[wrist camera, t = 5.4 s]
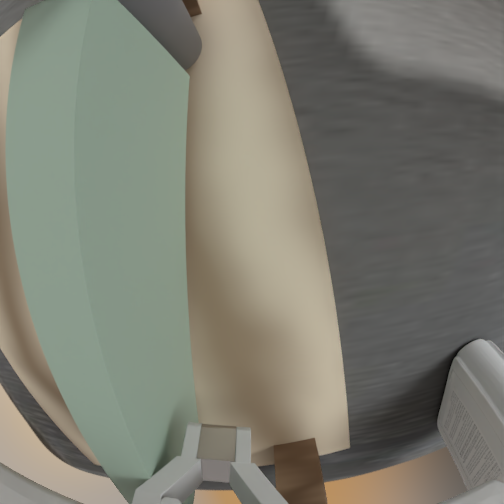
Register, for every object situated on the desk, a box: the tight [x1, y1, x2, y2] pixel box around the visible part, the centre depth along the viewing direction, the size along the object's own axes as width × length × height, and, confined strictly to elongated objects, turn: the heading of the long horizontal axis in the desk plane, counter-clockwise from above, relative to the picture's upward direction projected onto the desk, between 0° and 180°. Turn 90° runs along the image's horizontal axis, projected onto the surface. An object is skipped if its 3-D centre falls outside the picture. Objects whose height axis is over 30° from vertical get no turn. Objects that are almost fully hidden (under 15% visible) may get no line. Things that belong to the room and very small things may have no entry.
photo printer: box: [437, 339, 504, 490], centre depth 12 cm, size 10×4×12 cm, turn 16°
